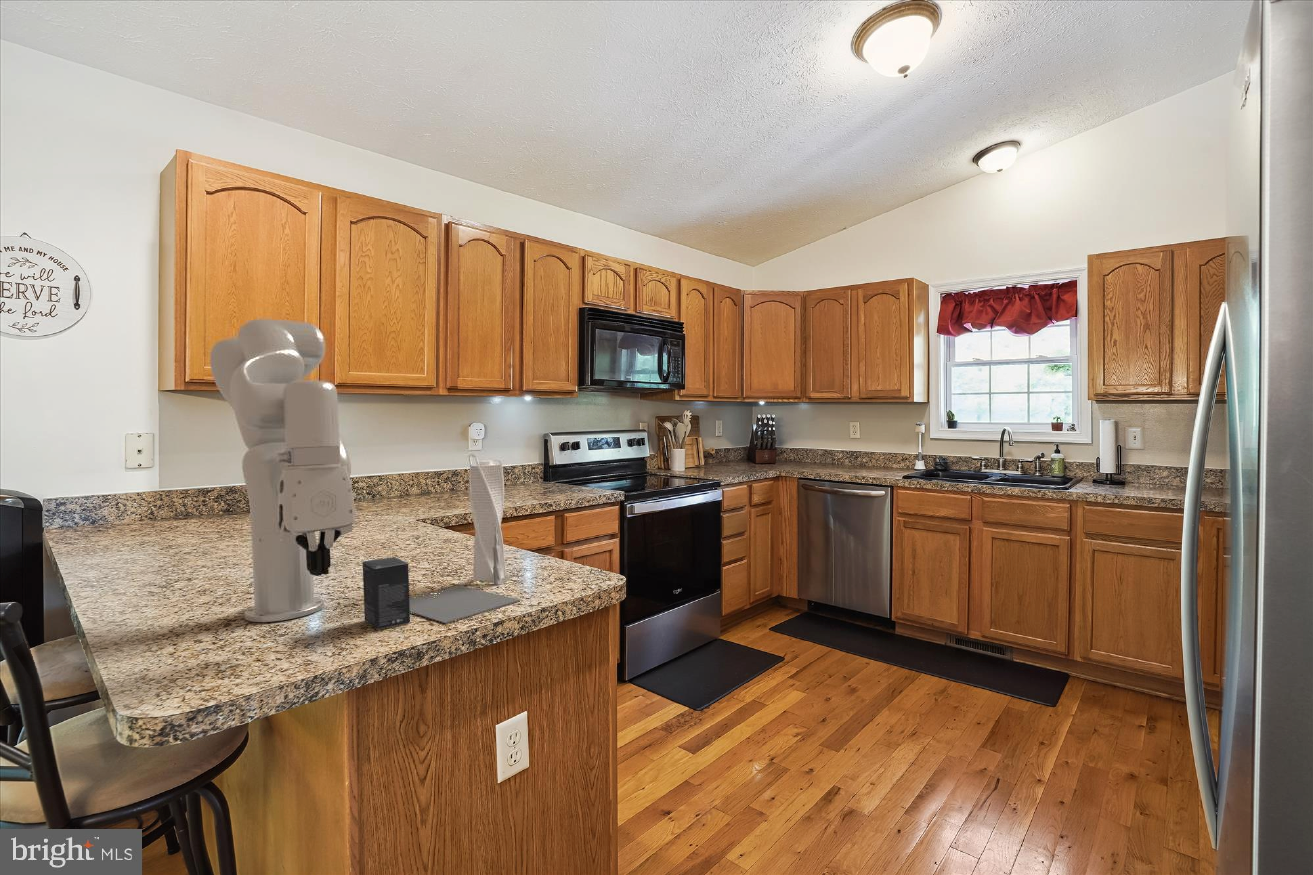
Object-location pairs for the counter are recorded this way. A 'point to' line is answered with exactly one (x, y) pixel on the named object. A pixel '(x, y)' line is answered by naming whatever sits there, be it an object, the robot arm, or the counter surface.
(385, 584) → the box
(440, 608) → the mat
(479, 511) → the skyscraper
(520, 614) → the counter surface
